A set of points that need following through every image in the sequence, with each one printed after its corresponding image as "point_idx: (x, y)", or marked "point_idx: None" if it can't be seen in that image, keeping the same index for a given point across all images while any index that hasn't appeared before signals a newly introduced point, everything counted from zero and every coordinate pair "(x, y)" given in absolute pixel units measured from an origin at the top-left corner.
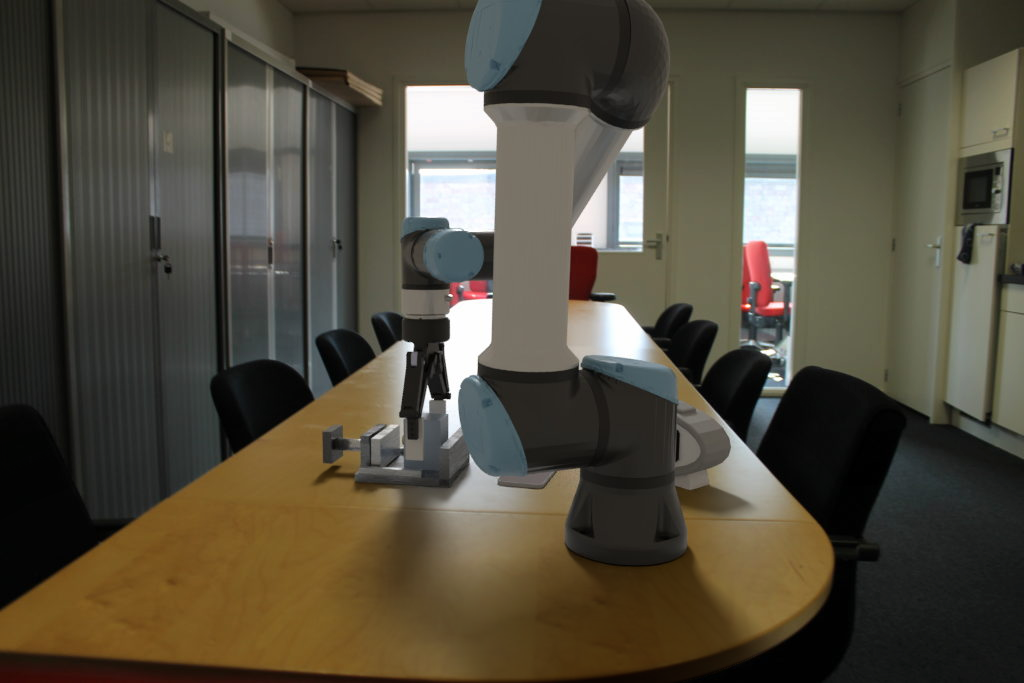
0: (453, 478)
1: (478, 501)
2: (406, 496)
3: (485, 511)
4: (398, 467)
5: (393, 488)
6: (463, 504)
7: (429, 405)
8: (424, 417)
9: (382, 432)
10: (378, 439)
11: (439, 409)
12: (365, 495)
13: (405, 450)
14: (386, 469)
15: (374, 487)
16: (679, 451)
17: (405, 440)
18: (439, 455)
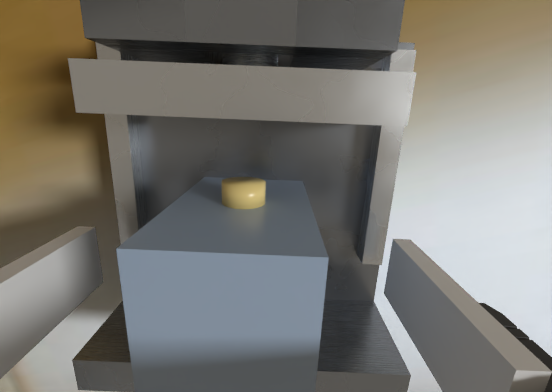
0: None
1: (72, 366)
2: (45, 221)
3: (19, 384)
4: (213, 157)
5: (95, 173)
6: (42, 344)
7: (488, 341)
8: (191, 352)
9: (217, 80)
10: (76, 102)
11: (456, 375)
12: (11, 114)
13: (52, 240)
14: (110, 145)
15: (85, 118)
16: None
17: (15, 260)
18: (89, 340)
